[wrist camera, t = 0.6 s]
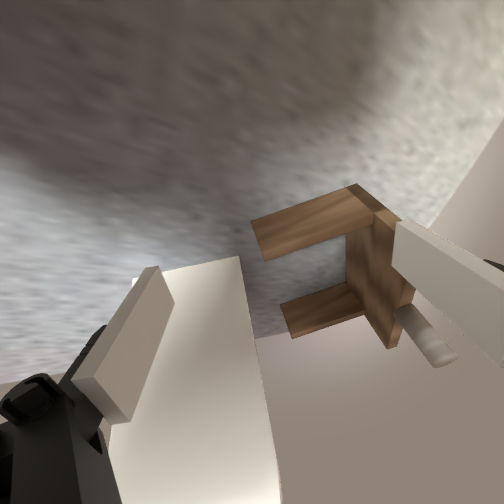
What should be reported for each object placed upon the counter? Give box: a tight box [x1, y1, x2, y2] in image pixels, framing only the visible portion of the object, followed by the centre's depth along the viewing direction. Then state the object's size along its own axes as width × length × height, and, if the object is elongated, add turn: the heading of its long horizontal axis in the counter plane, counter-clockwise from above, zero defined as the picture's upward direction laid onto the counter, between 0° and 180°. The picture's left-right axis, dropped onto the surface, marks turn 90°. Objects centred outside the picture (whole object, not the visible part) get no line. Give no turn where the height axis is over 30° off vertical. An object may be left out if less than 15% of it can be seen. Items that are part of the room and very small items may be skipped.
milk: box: [108, 256, 283, 504], centre depth 21 cm, size 12×12×26 cm
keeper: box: [251, 184, 458, 368], centre depth 25 cm, size 17×12×15 cm
